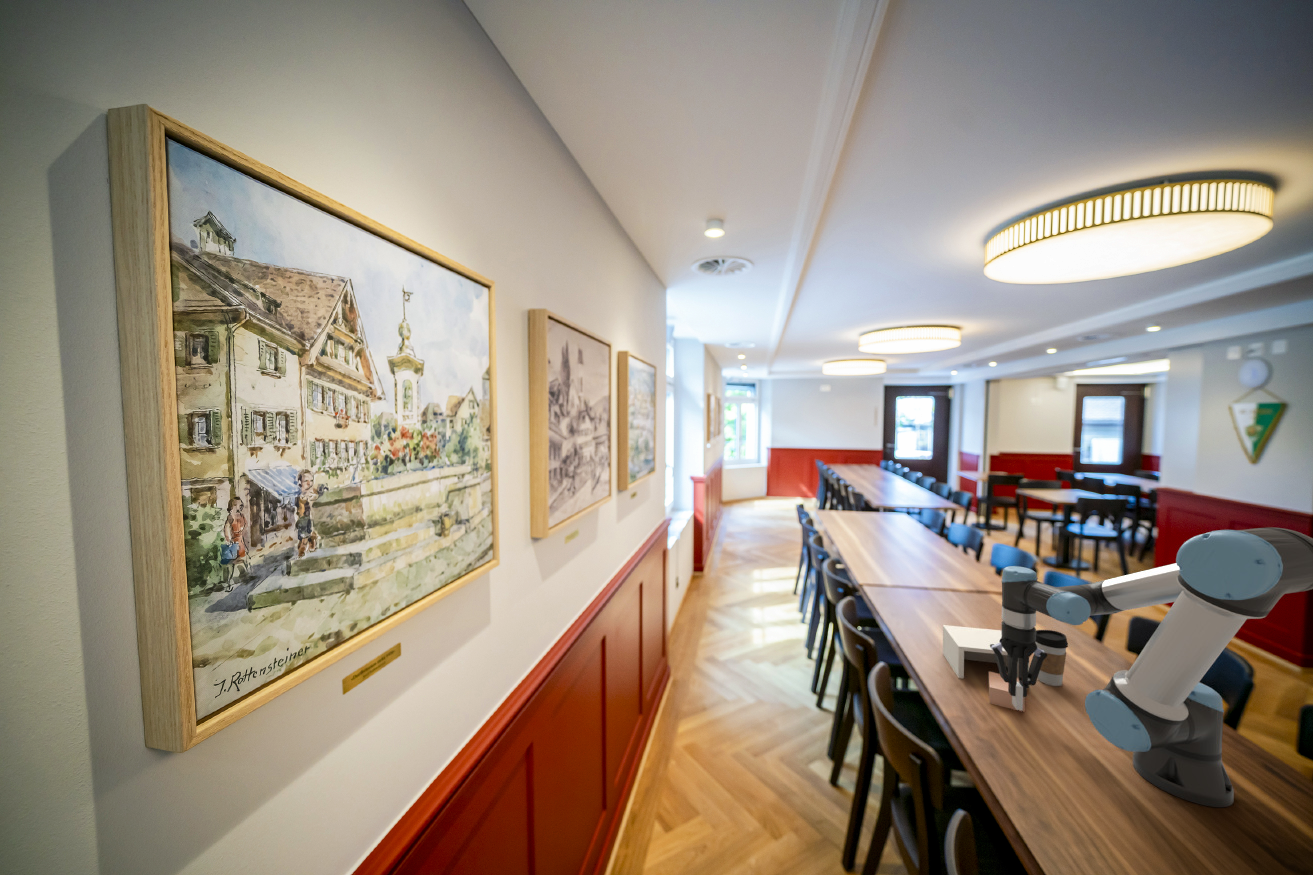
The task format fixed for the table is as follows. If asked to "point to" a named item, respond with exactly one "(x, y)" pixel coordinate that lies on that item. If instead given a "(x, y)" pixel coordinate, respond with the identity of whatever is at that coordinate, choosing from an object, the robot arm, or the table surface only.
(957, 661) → the shelf
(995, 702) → the pink clay brick
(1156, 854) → the table surface
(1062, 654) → the coffee cup
